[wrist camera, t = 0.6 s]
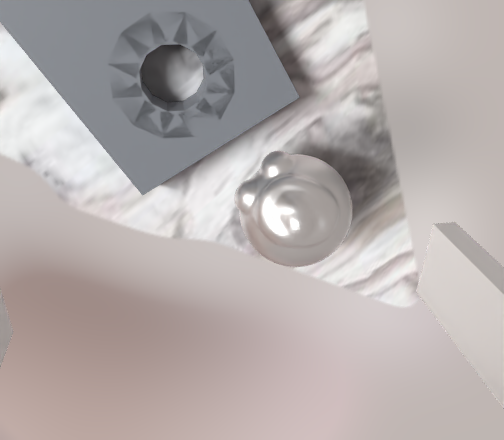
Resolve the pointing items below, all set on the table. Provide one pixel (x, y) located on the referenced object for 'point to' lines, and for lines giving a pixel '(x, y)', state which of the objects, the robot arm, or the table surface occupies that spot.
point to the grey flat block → (130, 77)
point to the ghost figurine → (294, 209)
